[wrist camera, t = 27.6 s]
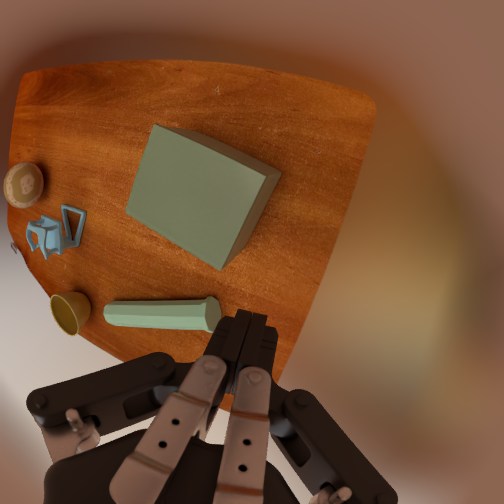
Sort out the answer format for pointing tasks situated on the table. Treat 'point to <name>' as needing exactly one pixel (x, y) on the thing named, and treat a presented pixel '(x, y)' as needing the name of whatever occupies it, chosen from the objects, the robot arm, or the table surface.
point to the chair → (55, 232)
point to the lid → (193, 195)
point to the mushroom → (23, 185)
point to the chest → (251, 162)
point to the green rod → (165, 314)
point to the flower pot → (70, 311)
